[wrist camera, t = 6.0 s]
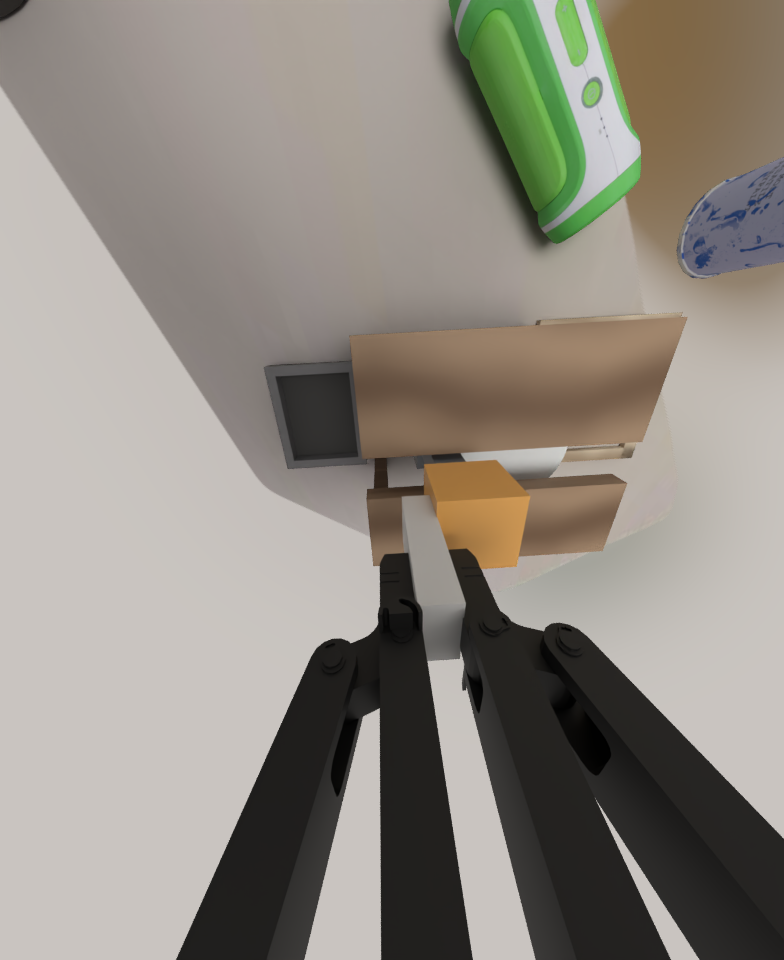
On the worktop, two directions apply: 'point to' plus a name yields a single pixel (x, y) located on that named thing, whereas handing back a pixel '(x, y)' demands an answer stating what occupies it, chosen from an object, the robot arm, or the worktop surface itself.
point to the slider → (476, 507)
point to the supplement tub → (523, 461)
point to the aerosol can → (736, 225)
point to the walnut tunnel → (511, 412)
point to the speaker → (553, 104)
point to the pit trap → (316, 413)
